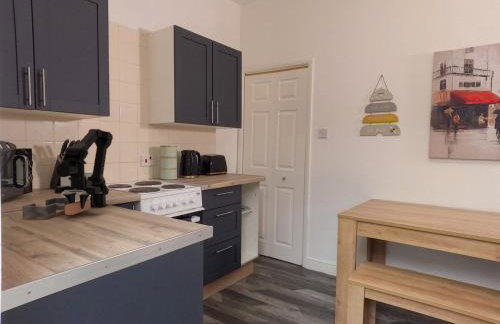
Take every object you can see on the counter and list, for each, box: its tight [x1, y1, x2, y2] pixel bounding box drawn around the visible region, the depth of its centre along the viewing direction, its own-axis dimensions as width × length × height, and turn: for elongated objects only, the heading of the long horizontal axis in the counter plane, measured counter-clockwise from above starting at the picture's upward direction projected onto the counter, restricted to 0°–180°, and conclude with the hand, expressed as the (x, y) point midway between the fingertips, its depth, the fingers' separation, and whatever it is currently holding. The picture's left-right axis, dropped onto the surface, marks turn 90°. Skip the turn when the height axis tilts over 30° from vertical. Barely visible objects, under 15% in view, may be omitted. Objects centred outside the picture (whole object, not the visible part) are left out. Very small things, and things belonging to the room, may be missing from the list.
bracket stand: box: [21, 197, 70, 221], centre depth 142 cm, size 10×20×6 cm, turn 178°
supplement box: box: [60, 176, 82, 200], centre depth 172 cm, size 9×9×15 cm
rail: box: [64, 198, 91, 216], centre depth 142 cm, size 14×4×4 cm, turn 178°
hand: (78, 208), depth 142 cm, fingers closed on rail, 3 cm apart
